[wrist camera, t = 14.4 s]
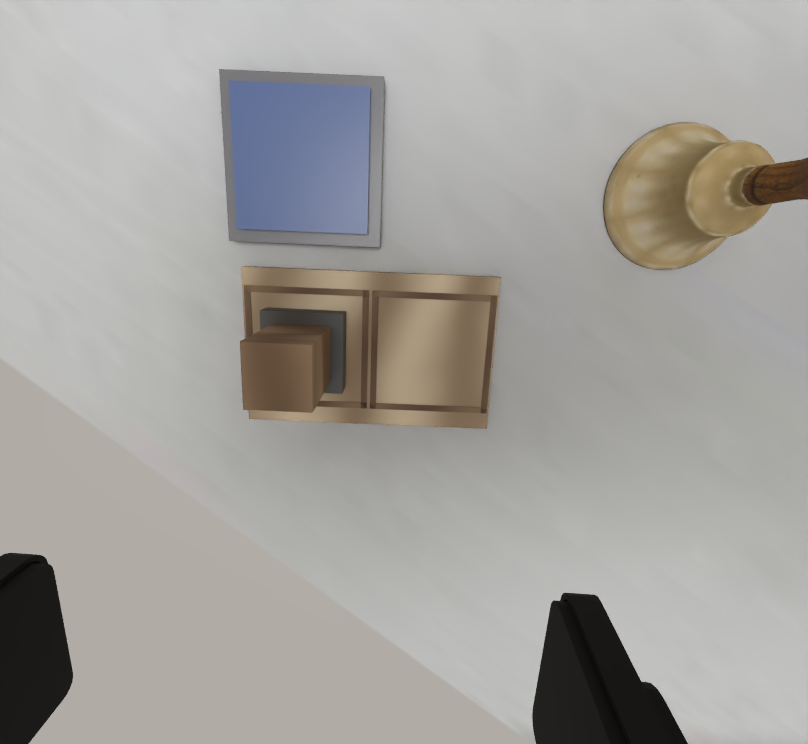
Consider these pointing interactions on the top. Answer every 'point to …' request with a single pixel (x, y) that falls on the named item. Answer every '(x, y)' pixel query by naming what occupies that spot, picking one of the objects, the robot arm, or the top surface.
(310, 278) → the board
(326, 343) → the stamp
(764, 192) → the hand bell
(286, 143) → the ink pad
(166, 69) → the top surface
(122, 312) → the top surface
